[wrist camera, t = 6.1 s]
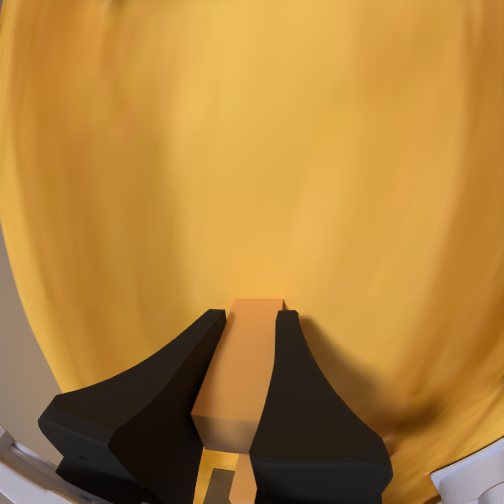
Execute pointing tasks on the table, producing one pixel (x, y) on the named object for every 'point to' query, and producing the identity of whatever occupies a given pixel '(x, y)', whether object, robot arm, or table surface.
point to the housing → (219, 487)
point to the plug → (238, 388)
